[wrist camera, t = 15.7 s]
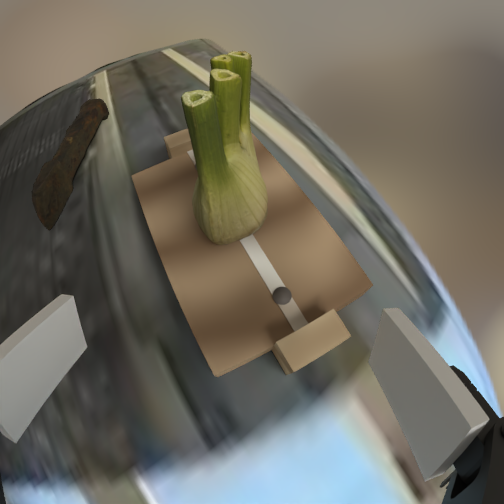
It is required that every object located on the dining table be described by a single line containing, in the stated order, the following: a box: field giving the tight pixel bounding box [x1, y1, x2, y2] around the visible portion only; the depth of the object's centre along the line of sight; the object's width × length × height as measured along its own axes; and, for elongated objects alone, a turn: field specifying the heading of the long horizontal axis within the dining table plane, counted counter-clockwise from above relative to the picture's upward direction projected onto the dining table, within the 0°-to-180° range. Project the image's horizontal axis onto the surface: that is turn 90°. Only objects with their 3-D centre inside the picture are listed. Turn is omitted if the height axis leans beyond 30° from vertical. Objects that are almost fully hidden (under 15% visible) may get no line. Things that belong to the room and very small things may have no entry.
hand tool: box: [32, 99, 109, 230], centre depth 25 cm, size 19×4×5 cm, turn 2°
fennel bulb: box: [181, 51, 268, 245], centre depth 15 cm, size 6×5×12 cm
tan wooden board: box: [132, 128, 373, 377], centre depth 20 cm, size 22×12×3 cm, turn 28°
